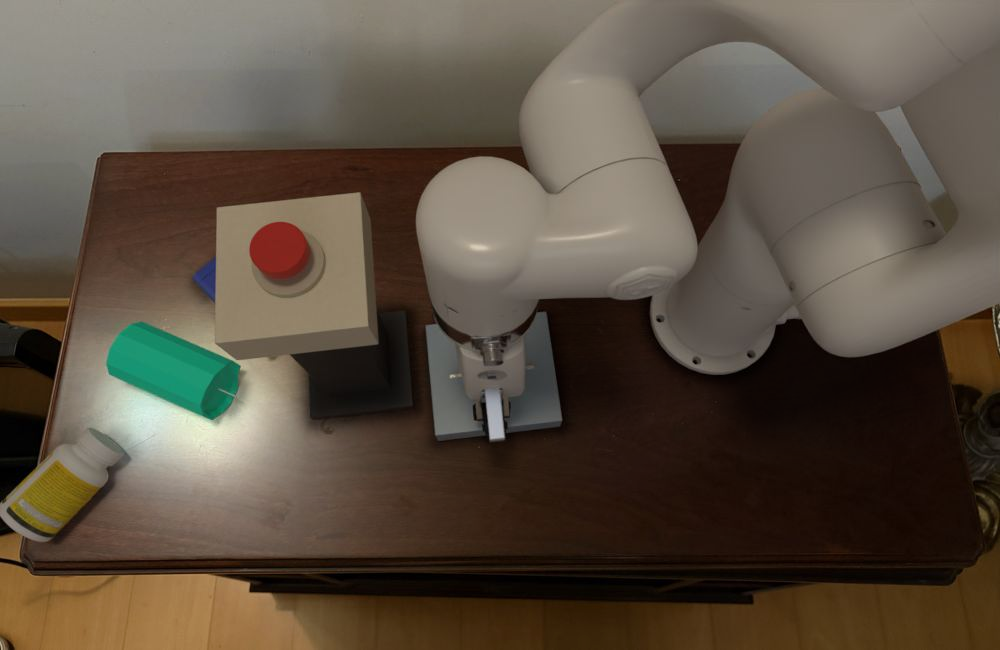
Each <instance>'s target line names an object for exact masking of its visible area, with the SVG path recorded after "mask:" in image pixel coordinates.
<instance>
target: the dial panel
mask: <svg viewBox="0 0 1000 650" xmlns="http://www.w3.org/2000/svg"><path fill="white" fill-rule="evenodd" d="M424 327H425V337H426V348H427V349H426V350H427V357H428V372H429V382H430V395H431V406H432V416H433V427H434V428H433V429H434V436H435V437H436V440H437V441H438V442H440V441H450V440H451V441H452V440H458V439H466V438H475V437H484V436H487V435H486V433H485V432H483V429H482V424H484V423H483V421H474V417H473V406H472V405H474V404H475V399H474V400H471V399H470V398H469V397H468V396H467V395H466V392H465V389H464V385H463V380H462V376H461V372H460V367H459V362H458V357H457V352H456V347H455V343H454V342H452V341H451V340H450V339H448V338H447V337H446V336H445V335H444V334H443V332H442V331H441V330H440V328H439V327H438V325H437V323H434V324H433V323H431V324H425V326H424ZM525 335H526V374H525V389H524V391H523V393H522V394H521V395H519V396H515V397H508V398H509V401H510V403H511V411H510V418H504V420H505V422H506V421H507V424H508V429H506V433H505V434H509V433H518V432H527V431H533V430H543V429H551V428H561V425H562V422H563V416H562V415H563V414H562V408H561V402H560V394H559V389H558V381H557V375H556V367H555V361H554V356H553V348H552V341H551V334H550V327H549V322H548V314H547V311H540V312H539V311H537V314H536V318H535V320H534V322H533V324H532V326H531V328H530V329H529V331H528V332H527V333H526V334H525ZM501 400H502V399H501ZM481 401H482V402H485V397H483V398H481Z"/></svg>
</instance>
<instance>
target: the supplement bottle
mask: <svg viewBox="0 0 1000 650" xmlns="http://www.w3.org/2000/svg"><path fill="white" fill-rule="evenodd" d="M123 456H124V451H123V449H122V448H121V447H120V446H119V445H118V444H117V443H116V442H115V441H114V440H112V439H111V438H110V437H109V436H108V435H106V434H105V433H103V432H101V431H100V430H98V429H96V428H93V427H88V428H86V429H85V430H84V431H83V432H82V433H81V434H80V435H79V436H78V437H77V438H76V442H75V443H74V444H73V443H63V444H60V445H58V446H56V448H55V449H53V451H51V452H50V453H49V454H48V455H47V456H46V458H45V459H43V461H41V462H40V463H39V464H38V465H37V466H36V467H35V468H34V469H33V470H32V471H31V472H30V473H29V474H28V475H27V476H26V477H25V478H24V479H23V480H21V482H20V483H19V484H18V485H17V486H16V487H15V488H14V489H12V490H11V491H10V492H9V493H8V495H6V496H5V498H4V499H2V500H1V502H0V518H1V519H2V521H3V522H4V523H5V524H6V525H7V526H8V527H9V528H10V529H12V530H13V531H14V532H16V533H17V534H19V535H20V536H23V537H24V538H27V539H29V540H31V541H34V542H39V543H47V542H49V541H51V540H52V539H53V538H54V537H55V536H56V535H57V534H58V533H59V532H61V530H62V529H63V528H64V527H65V526H66V525H67V524H68V523H69V522H70V521H71V520H72V519H73V518H74V517H75V516H76V515H77V514H78V512H80V511H81V509H82V508H84V506H86V504H87V503H89V501H90V500H91V499H92V498H93V497H94V496H96V494H97V493H98V492H99V491H100V490H101V489H102V488H103V487H104V486H105V485H106V484H107V482H108V480H109V471H108V470H107V468H109V467H113V466H114V465H115V464H116V463H117V462H118V461H119V460H120V459H121V458H122V457H123Z"/></svg>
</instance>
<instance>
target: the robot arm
mask: <svg viewBox="0 0 1000 650" xmlns="http://www.w3.org/2000/svg"><path fill="white" fill-rule="evenodd" d="M728 43H751V44H752V43H753V44H755V45H759V46H761V47H765V48H767V49H769V50H770V51H772V52H774V53H776V54H777V55H778V56H779V57H781V58H783V59H784V60H785V61H786V62H788V63H789V64H791V65H792V66H793V67H794V68H795V69H797V70H798V71H799V72H801V73H802V74H804V75H805V76H806V77H807V78H809V79H810V80H811V81H813V82H814V83H815V84H817V85H818V86H820V87H819V88H818V87H817V88H813V89H807V90H804V91H801V92H797V93H795V94H793V95H790V96H788V97H786V98H785V99H783V100H781V101H780V102H778V103H776V104H774V106H772V107H771V108H769V109H768V110H767V111H766V112H765V113H764V114H763V115H762V116H760V117H759V118H758V119H757V120H756V122H755V123H754V124H753V125H752V126H751V128H750V129H749V131H747V133H746V135H745V136H744V137H743V140H742V142H741V143H740V145H739V147H738V149H737V151H736V154H735V157H734V160H733V163H732V166H731V170H730V172H729V177H728V178H729V179H728V183H727V187H726V193H725V196H724V200H723V202H722V204H721V206H720V208H719V210H718V212H717V213H716V215H715V217H714V219H713V221H712V222H711V223H710V225H709V226H708V228H707V230H706V231H705V233H704V235H703V237H702V238H701V240H700V242H699V243H698V240H697V235H696V231H695V228H694V225H693V222H692V220H691V217H690V215H689V212H688V211H687V208H686V205H685V203H684V201H683V199H682V196H681V194H680V192H679V189H678V187H677V185H676V183H675V180H674V178H673V176H672V173H671V171H670V168H669V166H668V162H667V161H666V158H665V156H664V154H663V151H662V149H661V147H660V144H659V142H658V140H657V137H656V135H655V133H654V131H653V129H652V126H651V123H650V121H649V119H648V116H647V114H646V112H645V109H644V107H643V105H642V102H641V100H640V97H641V95H642V94H643V93H644V92H645V91H646V90H648V88H650V87H651V86H652V85H653V84H654V83H655V82H656V81H658V80H659V79H660V78H661V77H662V76H664V75H665V74H666V73H667V72H669V71H670V70H672V68H674V66H676V65H677V64H679V63H680V62H682V61H683V60H684V59H686V58H688V57H690V56H693V55H694V54H696V53H698V52H701V51H702V50H705V49H707V48H710V47H713V46H716V45H722V44H728ZM899 107H900V109H901V112H902V114H903V116H904V118H905V120H906V121H907V124H908V125H909V127H910V129H911V131H912V133H913V135H914V136H915V137H914V138H915V139H916V140H917V142H918V144H919V146H920V147H921V150H922V152H923V153H924V154H925V156H926V158H927V160H928V161H929V163H930V165H931V167H932V169H933V170H934V172H935V174H936V176H937V177H938V179H939V181H940V183H941V184H942V186H943V188H944V189H945V191H946V193H947V195H948V197H949V198H950V200H951V201H952V203H953V205H954V207H955V210H956V212H957V217H956V220H955V222H954V224H953V226H952V227H951V228H950V229H949V231H948V232H947V233H946V231H945V230H944V228H943V225H942V224H941V222H940V220H939V219H938V217H937V215H936V213H935V211H934V210H933V208H932V206H931V203H930V202H929V201H928V199H927V198H926V196H925V194H924V192H923V190H922V186H921V184H920V181H918V179H917V177H916V175H915V174H914V171H913V170H912V168H911V166H910V164H909V163H908V160H907V159H906V157H905V155H904V153H903V152H902V150H901V148H900V146H899V145H898V143H897V141H896V139H895V138H894V137H893V135H892V134H891V131H890V130H889V128H888V127H887V125H886V124H885V123H884V121H883V120H882V119H881V117H880V116H879V115H878V113H882V112H886V111H890V110H893V109H897V108H899ZM517 131H518V138H519V142H520V145H521V148H522V151H523V154H524V157H525V161H526V164H527V166H528V170H529V171H528V170H527V169H526V168H524V167H522V166H521V165H519V164H517V163H515V162H513V161H511V160H507V159H505V158H501V157H496V156H482V155H481V156H480V155H479V156H474V157H467V158H464V159H461V160H457V161H455V162H453V163H451V164H449V165H447V166H446V167H444V168H443V169H442V170H440V171H439V172H438V173H437V174H436V175H435V176H433V178H431V179H430V180H429V182H428V184H427V185H426V186H425V188H424V190H423V192H422V194H421V195H420V198H419V201H418V203H417V207H416V214H415V231H416V238H417V242H418V243H417V244H418V248H419V252H420V256H421V263H422V266H423V272H424V277H425V282H426V286H427V291H428V292H427V293H428V296H429V301H430V306H431V310H432V315H433V318H434V321H435V324H437V325H438V327H439V328H440V330H441V331H442V332H443V334H444V335H445V336H446V337H447V338H448V339H450V340H451V341H452V342H454V343H455V347H456V352H457V357H458V362H459V367H460V372H461V376H462V380H463V385H464V389H465V392H466V395H467V396H468V397H469V398H470V399H471V400H474V399H475V404H474V405H472V406H473V417H474V421H483V423H484V424H482V429H483V432H485V433H486V435H485V436H488V440H489V441H488V442H489V444H495V443H504V442H506V434H507V433H506V429H508V424H507V421H506V422H505V420H504V418H510V411H511V403H510V401H509V398H508V397H515V396H519V395H521V394H522V393H523V391H524V389H525V374H526V335H525V334H526V333H527V332H528V331H529V329H530V328H531V326H532V324H533V322H534V320H535V318H536V314H537V313H538V309H539V304H540V300H550V299H551V300H553V299H554V300H555V299H591V298H592V299H593V298H595V299H596V298H599V299H600V298H611V299H614V300H617V301H618V300H620V301H631V300H639V299H644V298H648V297H651V299H650V303H649V319H650V320H649V321H650V326H651V328H652V331H653V334H654V337H655V338H656V340H657V342H658V344H659V345H660V347H661V348H662V349H663V350H664V351H665V353H667V355H668V356H669V357H670V358H672V359H673V360H674V361H676V363H678V364H680V365H681V366H683V367H685V368H687V369H689V370H691V371H695V372H696V373H699V374H705V375H712V376H719V375H729V374H734V373H738V372H740V371H742V370H745V369H746V368H748V367H750V366H752V364H754V363H755V362H757V361H758V360H759V359H760V358H761V357H762V356H763V355H764V354H765V353H766V351H767V350H768V348H770V345H771V343H772V340H773V338H774V336H775V332H776V326H777V325H783V324H785V323H786V322H787V320H793V319H795V320H802V322H803V324H804V326H805V328H806V329H807V331H808V333H809V335H810V337H812V339H813V341H814V342H816V344H817V345H818V346H819V347H820V348H821V349H823V350H824V351H825V352H827V353H829V354H831V355H834V356H836V357H837V356H838V357H844V358H859V357H860V358H861V357H866V356H871V355H874V354H879V353H883V352H886V351H888V350H891V349H895V348H897V347H899V346H902V345H904V344H907V343H909V342H910V343H911V342H913V341H914V340H917V339H920V338H922V337H924V336H927V335H929V334H931V333H933V332H936V331H938V330H941V329H943V328H946V327H947V326H950V325H952V324H955V323H957V322H959V321H961V320H964V319H966V318H969V317H970V316H973V315H975V314H977V313H980V312H982V311H986V310H988V309H989V308H993V307H994V306H996V305H999V304H1000V0H616V1H615V2H613V3H611V4H610V5H609V6H607V7H606V8H605V9H603V10H602V11H601V12H600V13H599V14H598V15H596V16H594V18H592V19H591V21H590V22H589V23H588V24H587V25H586V26H584V28H583V29H581V31H580V32H578V33H577V34H576V35H575V37H574V38H572V40H571V41H570V42H569V43H568V44H567V45H565V47H564V48H563V49H562V50H561V51H560V52H559V53H557V55H556V56H555V57H554V58H553V59H552V61H550V62H549V64H548V65H547V66H546V67H545V68H544V69H543V71H542V72H541V73H540V74H539V75H538V76H537V78H536V79H535V80H534V82H533V83H532V84H531V86H530V88H529V89H528V91H527V93H526V95H525V97H524V98H523V101H522V103H521V106H520V110H519V113H518V122H517ZM658 320H659V321H660V322H659V321H658ZM748 355H749V356H750V357H749V356H748ZM694 362H696V364H695V363H694ZM483 397H485V402H482V401H481V398H483ZM501 399H502V400H501Z"/></svg>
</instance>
